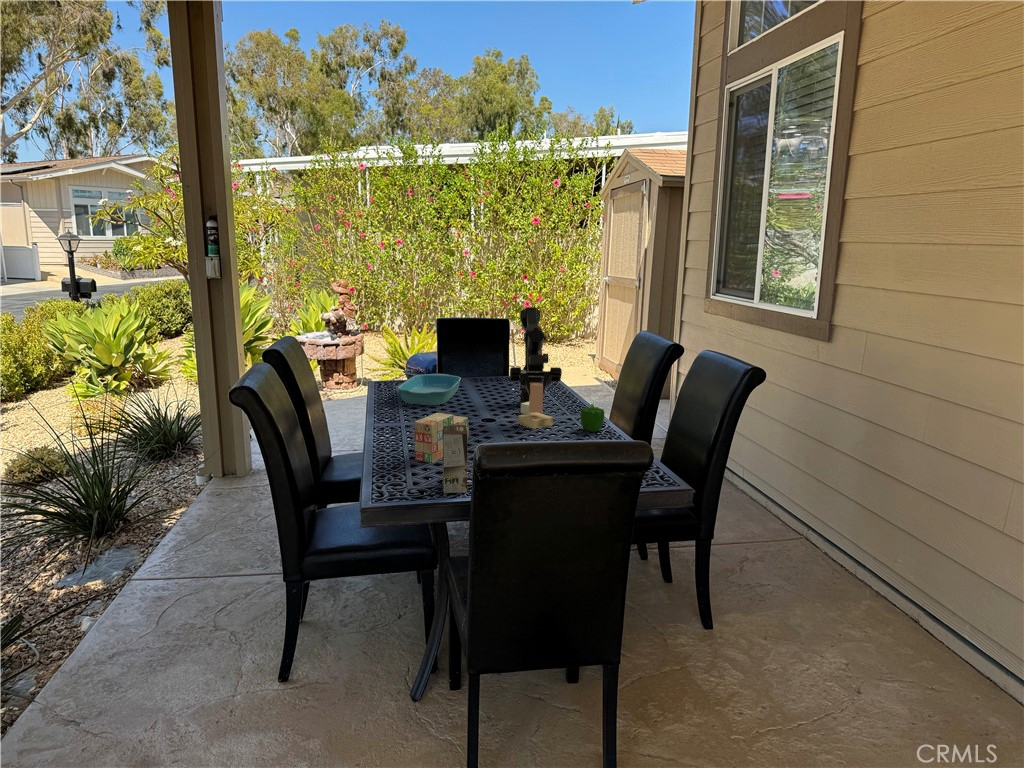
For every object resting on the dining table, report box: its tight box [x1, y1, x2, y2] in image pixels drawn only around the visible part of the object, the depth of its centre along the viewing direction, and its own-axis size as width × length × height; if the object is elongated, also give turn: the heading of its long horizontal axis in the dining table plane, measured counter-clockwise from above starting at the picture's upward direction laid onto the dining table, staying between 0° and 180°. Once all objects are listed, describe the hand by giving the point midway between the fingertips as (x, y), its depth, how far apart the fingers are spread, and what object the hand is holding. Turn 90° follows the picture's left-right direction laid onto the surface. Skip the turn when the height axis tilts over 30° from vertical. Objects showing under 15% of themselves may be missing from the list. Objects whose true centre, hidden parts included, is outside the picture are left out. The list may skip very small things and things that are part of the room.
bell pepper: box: [580, 403, 606, 433], centre depth 231 cm, size 8×8×10 cm
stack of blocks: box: [414, 412, 470, 464], centre depth 203 cm, size 21×6×12 cm, turn 153°
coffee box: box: [442, 425, 468, 494], centre depth 173 cm, size 9×6×16 cm
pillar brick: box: [529, 382, 544, 413], centre depth 236 cm, size 4×4×10 cm
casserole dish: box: [397, 373, 462, 406], centre depth 277 cm, size 37×22×7 cm, turn 172°
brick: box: [520, 402, 540, 415], centre depth 254 cm, size 5×5×4 cm
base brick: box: [517, 412, 554, 430], centre depth 237 cm, size 9×9×4 cm
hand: (536, 393), depth 234 cm, fingers closed on pillar brick, 4 cm apart
